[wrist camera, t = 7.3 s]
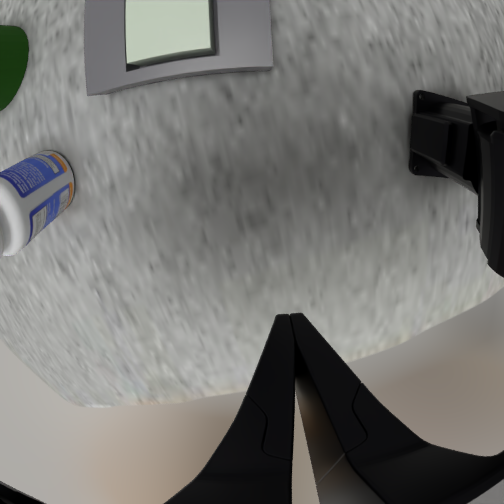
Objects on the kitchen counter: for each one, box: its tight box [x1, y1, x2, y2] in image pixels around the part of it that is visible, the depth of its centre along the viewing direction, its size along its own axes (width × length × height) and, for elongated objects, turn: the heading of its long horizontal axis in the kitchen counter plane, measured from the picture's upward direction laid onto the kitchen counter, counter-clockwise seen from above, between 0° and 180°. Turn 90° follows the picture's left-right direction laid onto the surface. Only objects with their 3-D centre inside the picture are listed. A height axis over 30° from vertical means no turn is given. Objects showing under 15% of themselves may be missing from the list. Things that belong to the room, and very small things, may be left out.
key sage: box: [126, 0, 215, 66], centre depth 11 cm, size 5×5×2 cm
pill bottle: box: [0, 151, 74, 258], centre depth 14 cm, size 5×5×10 cm
